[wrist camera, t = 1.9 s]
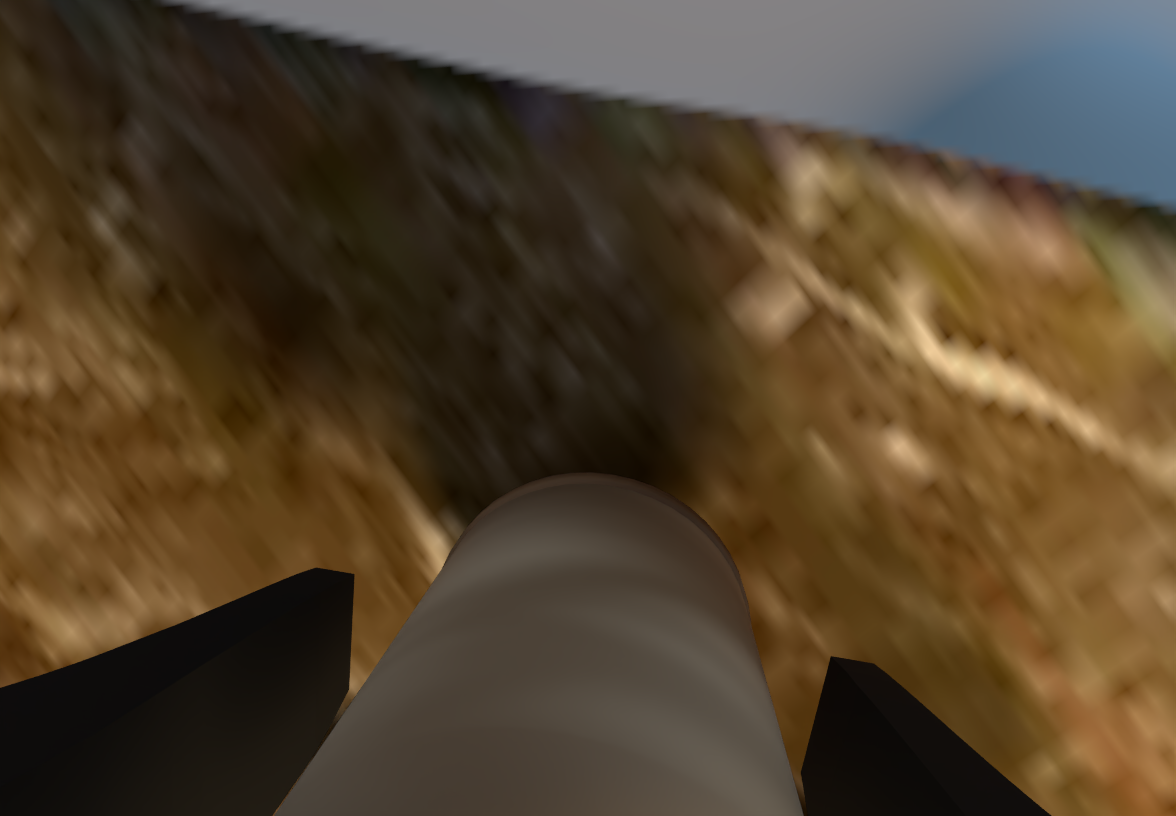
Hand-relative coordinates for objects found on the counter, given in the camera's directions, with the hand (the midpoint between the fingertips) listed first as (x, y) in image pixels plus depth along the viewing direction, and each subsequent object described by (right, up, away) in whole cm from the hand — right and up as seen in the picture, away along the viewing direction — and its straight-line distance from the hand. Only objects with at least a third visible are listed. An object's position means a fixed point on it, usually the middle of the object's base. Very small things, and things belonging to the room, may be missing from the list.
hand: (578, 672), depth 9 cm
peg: (0, +1, +4) cm, 4 cm away
